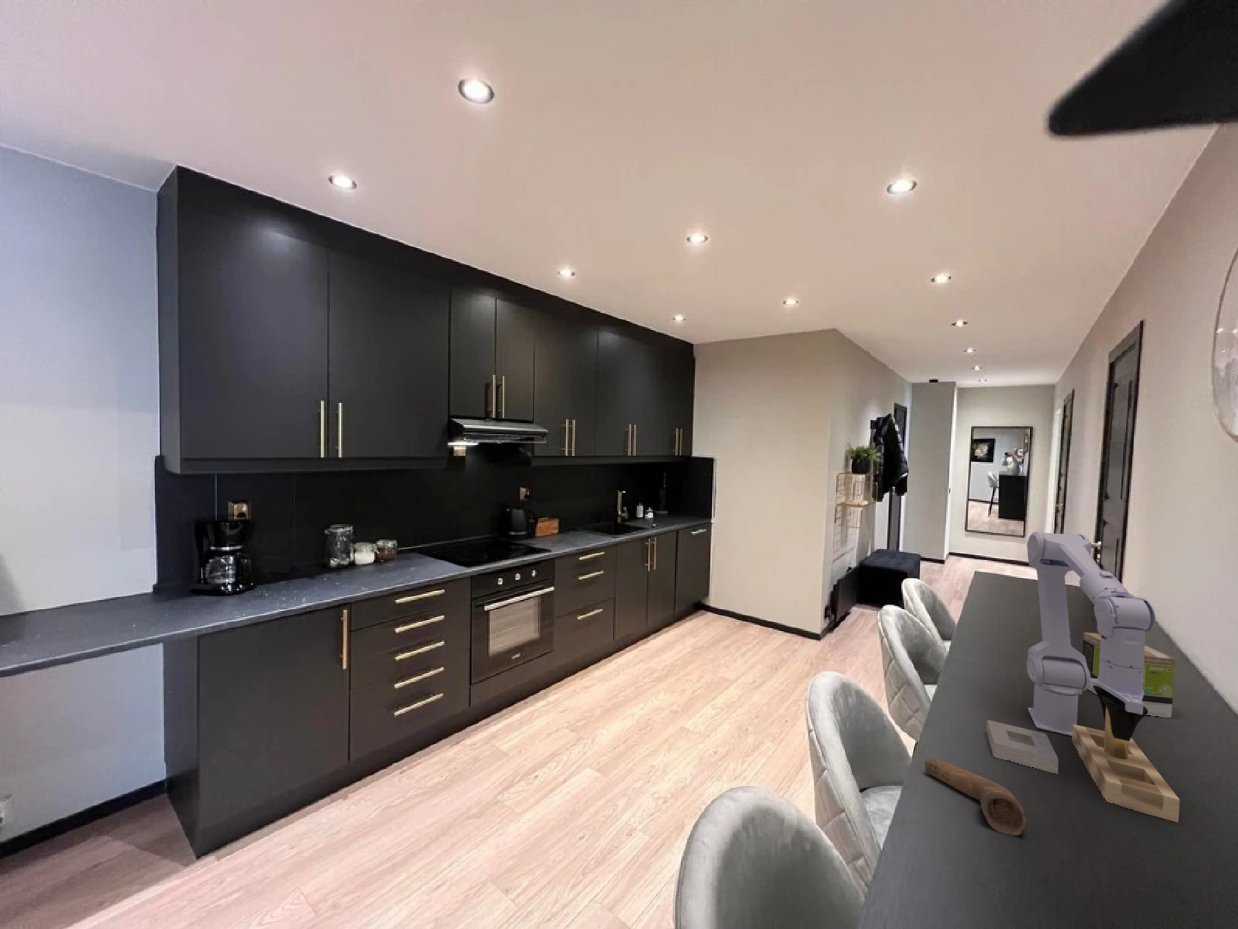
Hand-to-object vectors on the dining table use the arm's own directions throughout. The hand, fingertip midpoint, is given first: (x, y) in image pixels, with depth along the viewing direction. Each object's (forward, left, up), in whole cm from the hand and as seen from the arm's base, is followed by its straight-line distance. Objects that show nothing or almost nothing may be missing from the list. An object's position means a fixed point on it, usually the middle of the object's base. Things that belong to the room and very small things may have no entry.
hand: (1117, 733), depth 91 cm
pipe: (+18, -24, -11) cm, 32 cm away
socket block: (-4, -13, -10) cm, 17 cm away
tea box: (-45, +14, -11) cm, 49 cm away
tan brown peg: (0, 0, -4) cm, 4 cm away
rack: (-4, +2, -10) cm, 11 cm away
